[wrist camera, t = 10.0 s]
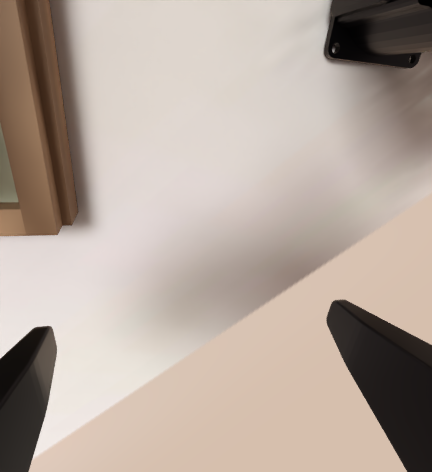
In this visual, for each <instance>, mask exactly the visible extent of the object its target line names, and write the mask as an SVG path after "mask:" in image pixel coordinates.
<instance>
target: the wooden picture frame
mask: <svg viewBox="0 0 432 472" xmlns="http://www.w3.org/2000/svg"><path fill="white" fill-rule="evenodd" d="M77 213H78V208H77V200H76V193H75V186H74V178H73V171H72V164H71V156H70V149H69V142H68V134H67V127H66V120H65V113H64V105H63V98H62V91H61V83H60V76H59V69H58V61H57V54H56V47H55V39H54V32H53V25H52V18H51V10H50V3H49V0H0V236H30V235H58V233H59V231H60V229H61V227H62V225H72V224H73V222H74V220H75V217H76V215H77Z"/></svg>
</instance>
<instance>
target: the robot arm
mask: <svg viewBox="0 0 432 472" xmlns="http://www.w3.org/2000/svg"><path fill="white" fill-rule="evenodd" d="M331 15H332V16H331V20H330V25H329V30H328V34H327V39H326V44H325V49H324V52H325V55H326V57H327V58H330V59H337V60H345V61H352V62H360V63H367V64H375V65H382V66H390V67H397V68H413V67H414V66H415V65H416V64H417V63H418V61H419V58H420V55H421V52H429V51H432V0H333V1H332V6H331ZM334 44H335V46H336V50H335V52H334V53H333V52H332V46H333V45H334ZM410 56H411V60H410V62H409V58H410ZM327 325H328V327H329V329H330V332H331V334H332V336H333V338H334V340H335V343H336V345H337V347H338V349H339V351H340V353H341V355H342V358H343V360H344V362H345V364H346V366H347V367H348V370H349V371H350V373H351V375H352V377H353V378H354V380H355V382H356V384H357V385H358V387H359V389H360V390H361V392H362V394H363V396H364V397H365V399H366V401H367V403H368V404H369V406H370V408H371V409H372V411H373V413H374V415H375V416H376V418H377V420H378V422H379V423H380V425H381V427H382V429H383V430H384V432H385V433H386V435H387V437H388V439H389V441H390V443H391V444H392V446H393V448H394V449H395V451H396V453H397V455H398V456H399V458H400V460H401V461H402V463H403V465H404V467H405V469H406V470H407V472H432V345H430V344H428V343H426V342H425V341H423V340H421V339H419V338H417V337H415V336H413V335H411V334H409V333H407V332H406V331H404V330H402V329H400V328H398V327H396V326H394V325H392V324H390V323H388V322H387V321H385V320H382V319H381V318H379V317H377V316H375V315H373V314H371V313H369V312H367V311H366V310H364V309H362V308H360V307H358V306H356V305H354V304H352V303H350V302H348V301H346V300H335V301H333V302H332V304H331V306H330V309H329V312H328V315H327ZM56 355H57V346H56V341H55V337H54V332H53V329H52V327H51V326H42V327H35V328H34V329H32V330H31V331H30V332H29V333H28V334H27V335H26V336H25V337H23V338H22V339H21V340H20V341H19V342H18V343H17V344H16V345H15V346H14V347H13V348H11V349H10V350H9V351H8V352H7V353H6V354H5V355H4V356H3V357H2V358H1V359H0V472H28V471H29V468H30V465H31V461H32V458H33V455H34V451H35V448H36V444H37V441H38V438H39V434H40V431H41V428H42V424H43V421H44V417H45V414H46V410H47V405H48V400H49V395H50V389H51V383H52V378H53V372H54V366H55V361H56Z"/></svg>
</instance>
